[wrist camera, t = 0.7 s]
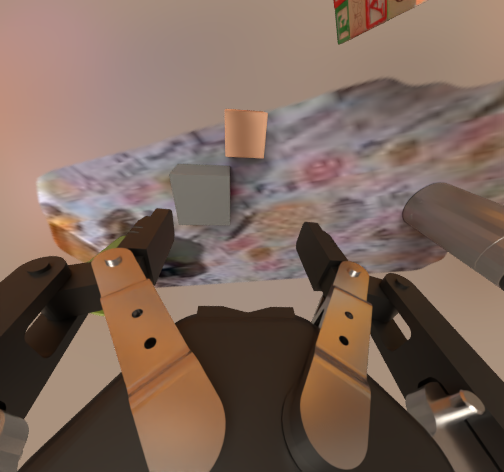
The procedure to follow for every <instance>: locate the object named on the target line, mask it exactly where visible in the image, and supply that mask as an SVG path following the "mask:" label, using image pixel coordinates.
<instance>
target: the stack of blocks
mask: <svg viewBox="0 0 504 472" xmlns="http://www.w3.org/2000/svg"><path fill="white" fill-rule="evenodd" d="M425 1H427V0H334V8H335V18H336V28H337V40H338V44H342V43H344V42H346V41H348V40H351V39H353V38H354V37H356V36H358V35H360V34H362V33H364V32H366V31H368V30H370V29H372V28H374V27H376V26H378V25H380V24H382V23H384V22H386V21H388V20H390V19H392V18H394V17H396V16H397V15H400V14H402V13H404V12H406V11H408V10H410V9H412V8H414V7H416V6H418V5H420V4H422V3H424V2H425Z"/></svg>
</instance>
